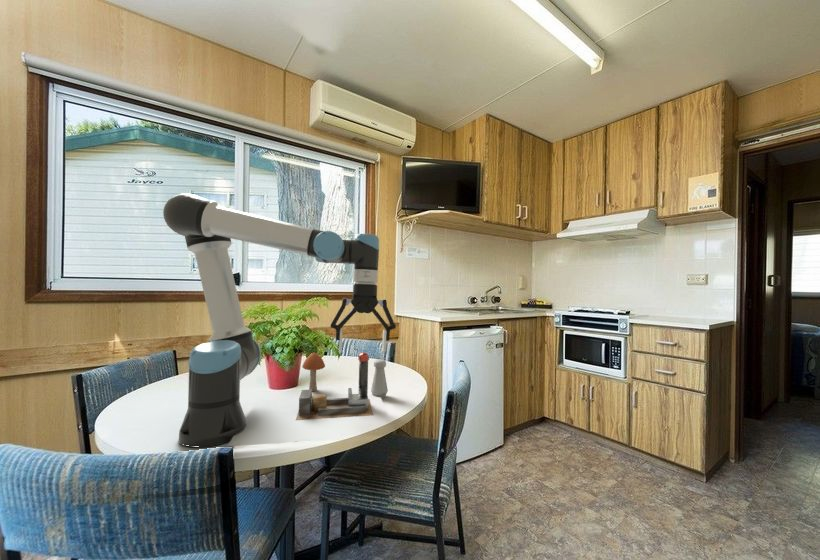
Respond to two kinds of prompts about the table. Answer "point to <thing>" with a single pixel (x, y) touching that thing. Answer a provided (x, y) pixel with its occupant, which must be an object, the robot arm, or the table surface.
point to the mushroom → (313, 368)
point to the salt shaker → (379, 379)
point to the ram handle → (361, 384)
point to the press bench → (329, 408)
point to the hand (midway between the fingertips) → (362, 351)
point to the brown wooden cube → (319, 402)
